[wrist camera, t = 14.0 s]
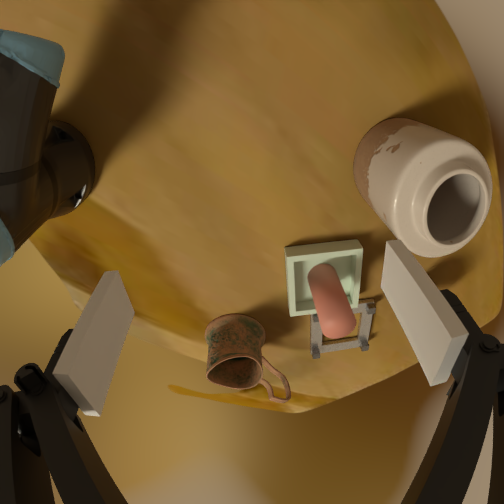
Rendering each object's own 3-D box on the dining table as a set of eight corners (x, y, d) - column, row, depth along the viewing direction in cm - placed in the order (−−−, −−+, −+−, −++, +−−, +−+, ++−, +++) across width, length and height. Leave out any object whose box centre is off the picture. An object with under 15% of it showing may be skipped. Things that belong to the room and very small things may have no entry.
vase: (452, 170, 45) (516, 213, 30) (388, 229, 50) (435, 290, 36) (404, 96, 39) (474, 115, 25) (331, 162, 44) (373, 208, 30)
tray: (288, 305, 57) (290, 316, 55) (284, 247, 51) (286, 257, 49) (353, 297, 57) (357, 307, 54) (357, 239, 51) (363, 248, 48)
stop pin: (307, 289, 55) (321, 341, 45) (306, 265, 52) (321, 315, 42) (335, 285, 55) (354, 335, 44) (336, 261, 52) (357, 310, 42)
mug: (268, 371, 67) (271, 418, 57) (194, 341, 62) (188, 390, 51) (302, 340, 62) (311, 388, 52) (224, 304, 57) (221, 355, 46)
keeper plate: (310, 350, 64) (311, 359, 62) (310, 307, 58) (312, 316, 55) (365, 342, 63) (368, 350, 61) (372, 298, 57) (377, 306, 55)
